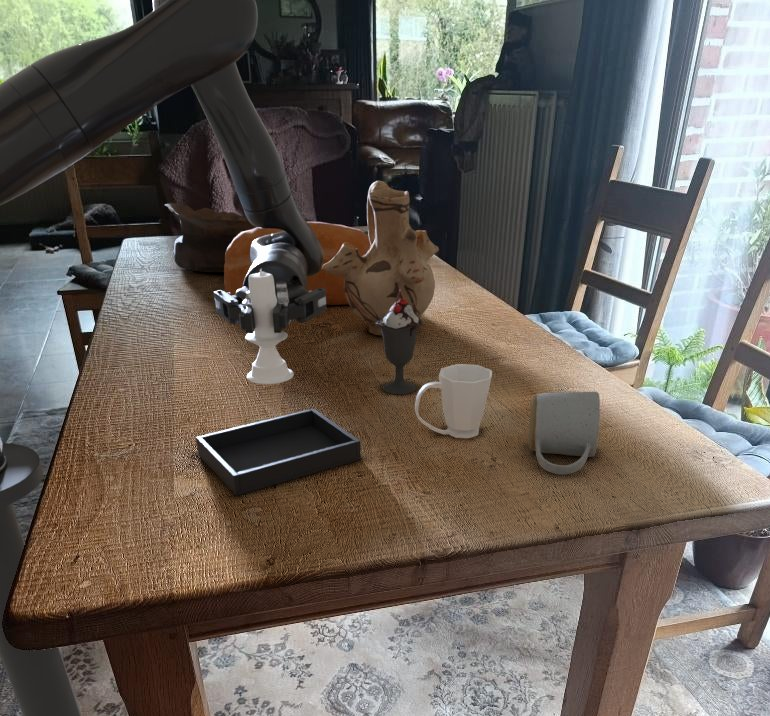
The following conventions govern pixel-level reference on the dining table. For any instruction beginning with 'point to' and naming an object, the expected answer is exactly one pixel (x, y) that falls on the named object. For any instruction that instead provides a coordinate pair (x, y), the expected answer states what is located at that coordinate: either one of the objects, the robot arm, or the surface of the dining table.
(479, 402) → the cup
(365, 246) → the bread
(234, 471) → the tray
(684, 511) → the dining table surface
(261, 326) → the candle
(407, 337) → the sundae
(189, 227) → the bowl
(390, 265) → the ceramic vessel
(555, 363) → the dining table surface
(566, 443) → the ceramic mug
